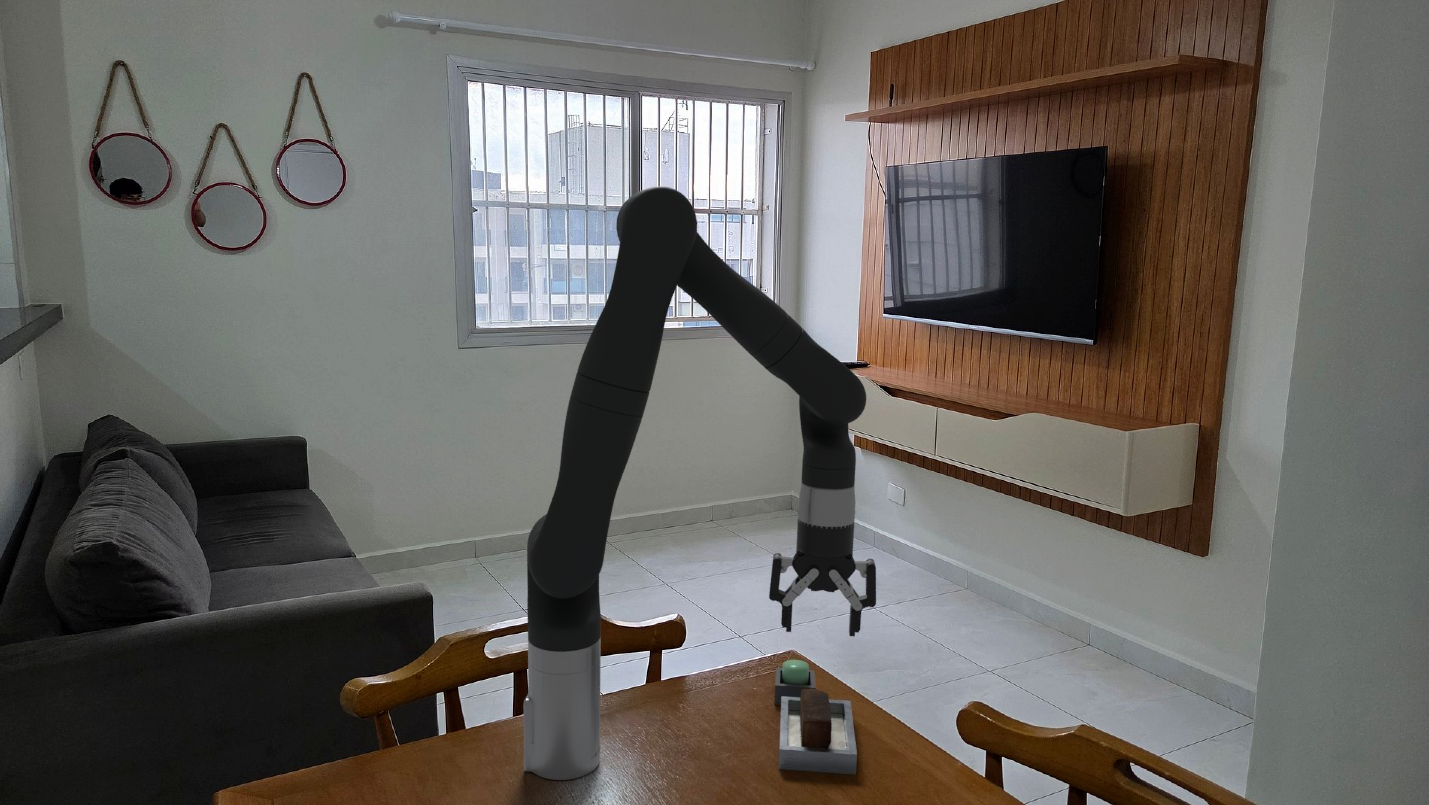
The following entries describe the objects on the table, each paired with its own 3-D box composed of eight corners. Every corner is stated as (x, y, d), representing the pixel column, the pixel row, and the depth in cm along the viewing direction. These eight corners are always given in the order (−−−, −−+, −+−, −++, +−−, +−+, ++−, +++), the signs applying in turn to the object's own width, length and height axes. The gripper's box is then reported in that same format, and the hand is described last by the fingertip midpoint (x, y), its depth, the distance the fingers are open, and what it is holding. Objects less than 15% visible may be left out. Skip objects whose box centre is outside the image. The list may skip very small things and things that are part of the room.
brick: (831, 755, 125) (832, 721, 124) (800, 753, 125) (802, 720, 124) (826, 716, 135) (828, 685, 135) (799, 715, 135) (800, 684, 135)
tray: (778, 769, 123) (779, 749, 123) (780, 714, 138) (781, 696, 138) (855, 774, 122) (857, 754, 122) (849, 718, 137) (850, 700, 137)
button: (781, 685, 142) (782, 670, 141) (782, 674, 145) (782, 658, 145) (808, 687, 141) (809, 671, 141) (808, 675, 145) (808, 660, 145)
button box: (774, 704, 141) (775, 685, 141) (775, 686, 147) (776, 668, 146) (814, 706, 141) (815, 687, 140) (813, 688, 146) (814, 670, 146)
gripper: (771, 521, 122) (766, 639, 125) (882, 527, 121) (875, 647, 124) (773, 506, 130) (768, 618, 132) (878, 512, 129) (871, 625, 131)
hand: (820, 632), depth 128 cm, fingers open, 8 cm apart
